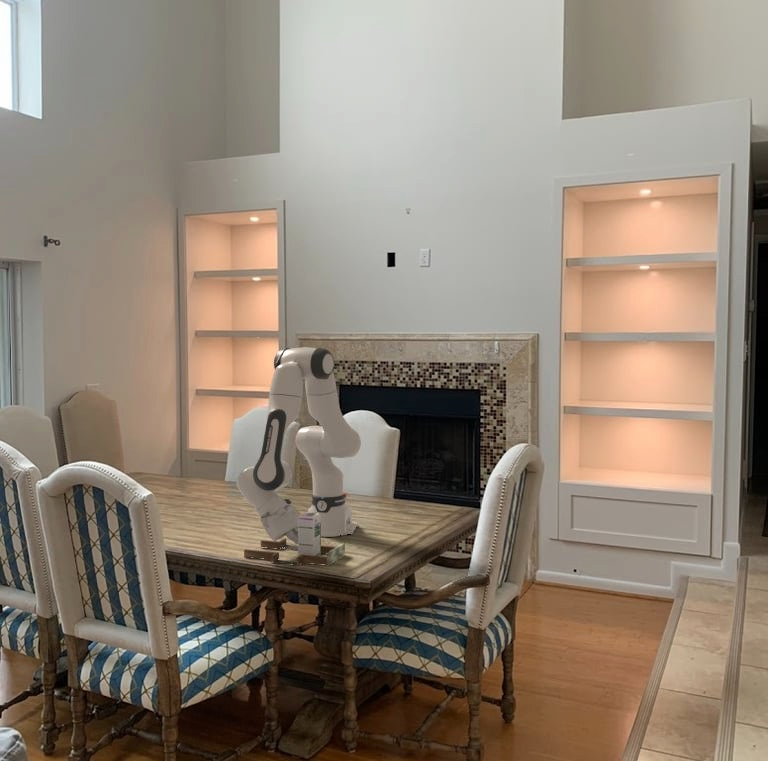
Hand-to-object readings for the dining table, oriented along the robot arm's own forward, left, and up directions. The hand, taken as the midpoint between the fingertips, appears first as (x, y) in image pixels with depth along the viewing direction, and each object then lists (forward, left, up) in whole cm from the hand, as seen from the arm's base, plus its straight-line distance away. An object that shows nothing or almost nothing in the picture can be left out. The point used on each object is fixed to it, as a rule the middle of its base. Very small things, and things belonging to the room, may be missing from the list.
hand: (299, 542), depth 264 cm
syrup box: (0, +3, -5) cm, 6 cm away
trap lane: (-1, -2, -5) cm, 5 cm away
